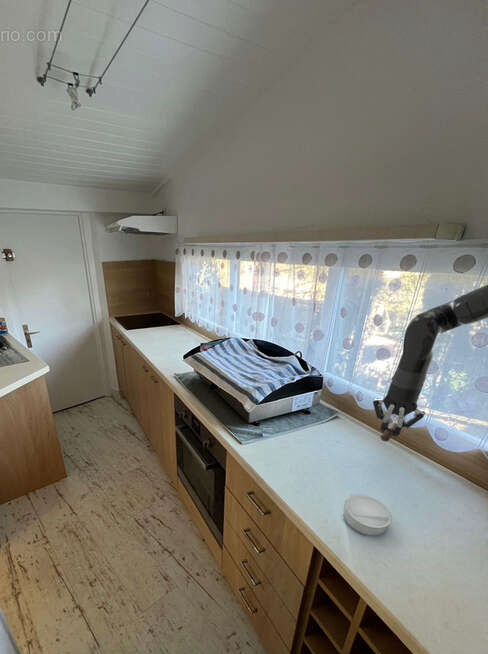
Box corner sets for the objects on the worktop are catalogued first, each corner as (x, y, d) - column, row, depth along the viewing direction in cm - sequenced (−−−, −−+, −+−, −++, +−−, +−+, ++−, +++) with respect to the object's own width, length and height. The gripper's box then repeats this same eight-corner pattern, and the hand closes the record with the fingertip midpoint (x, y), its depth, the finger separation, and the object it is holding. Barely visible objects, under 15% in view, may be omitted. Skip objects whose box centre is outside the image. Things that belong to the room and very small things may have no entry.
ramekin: (366, 547, 76) (371, 533, 74) (331, 515, 85) (335, 501, 83) (396, 531, 80) (402, 518, 78) (359, 502, 89) (364, 489, 87)
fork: (396, 417, 103) (398, 411, 102) (404, 420, 102) (406, 414, 100) (378, 440, 92) (380, 434, 91) (387, 444, 90) (389, 437, 89)
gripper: (439, 386, 84) (418, 437, 92) (383, 372, 93) (369, 420, 101) (433, 395, 80) (412, 448, 88) (375, 380, 89) (360, 429, 97)
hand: (389, 433), depth 95 cm, fingers closed on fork, 2 cm apart
